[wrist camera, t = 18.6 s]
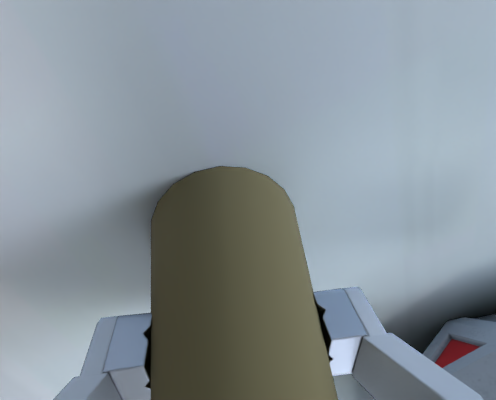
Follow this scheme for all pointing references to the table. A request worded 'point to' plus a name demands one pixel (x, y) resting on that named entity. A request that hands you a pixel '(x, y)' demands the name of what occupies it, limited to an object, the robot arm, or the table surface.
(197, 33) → the table surface
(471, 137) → the table surface
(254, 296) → the cork
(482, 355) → the first aid kit
